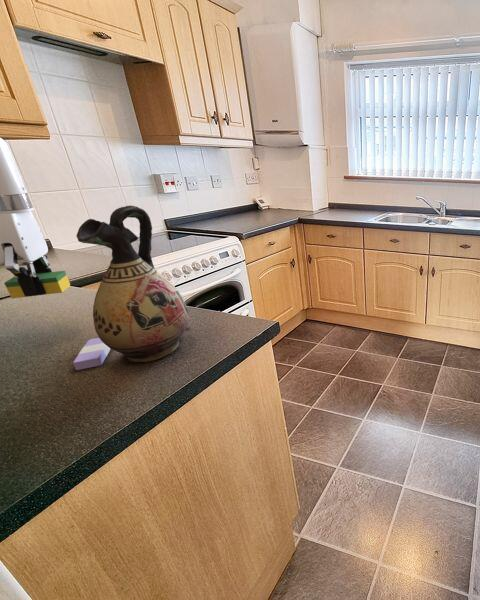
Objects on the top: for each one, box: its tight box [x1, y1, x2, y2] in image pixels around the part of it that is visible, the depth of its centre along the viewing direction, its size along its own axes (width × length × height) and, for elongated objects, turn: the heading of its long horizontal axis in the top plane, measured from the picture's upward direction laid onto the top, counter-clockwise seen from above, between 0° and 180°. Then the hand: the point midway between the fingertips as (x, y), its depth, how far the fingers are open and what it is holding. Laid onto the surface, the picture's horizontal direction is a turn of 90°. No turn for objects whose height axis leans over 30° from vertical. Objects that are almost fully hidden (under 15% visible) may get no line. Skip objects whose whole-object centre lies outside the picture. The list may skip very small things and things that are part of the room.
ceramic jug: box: [76, 205, 190, 363], centre depth 67 cm, size 17×15×30 cm
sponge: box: [3, 270, 71, 299], centre depth 72 cm, size 8×5×4 cm, turn 116°
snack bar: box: [72, 337, 112, 371], centre depth 70 cm, size 10×4×2 cm, turn 26°
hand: (41, 289), depth 73 cm, fingers closed on sponge, 5 cm apart
